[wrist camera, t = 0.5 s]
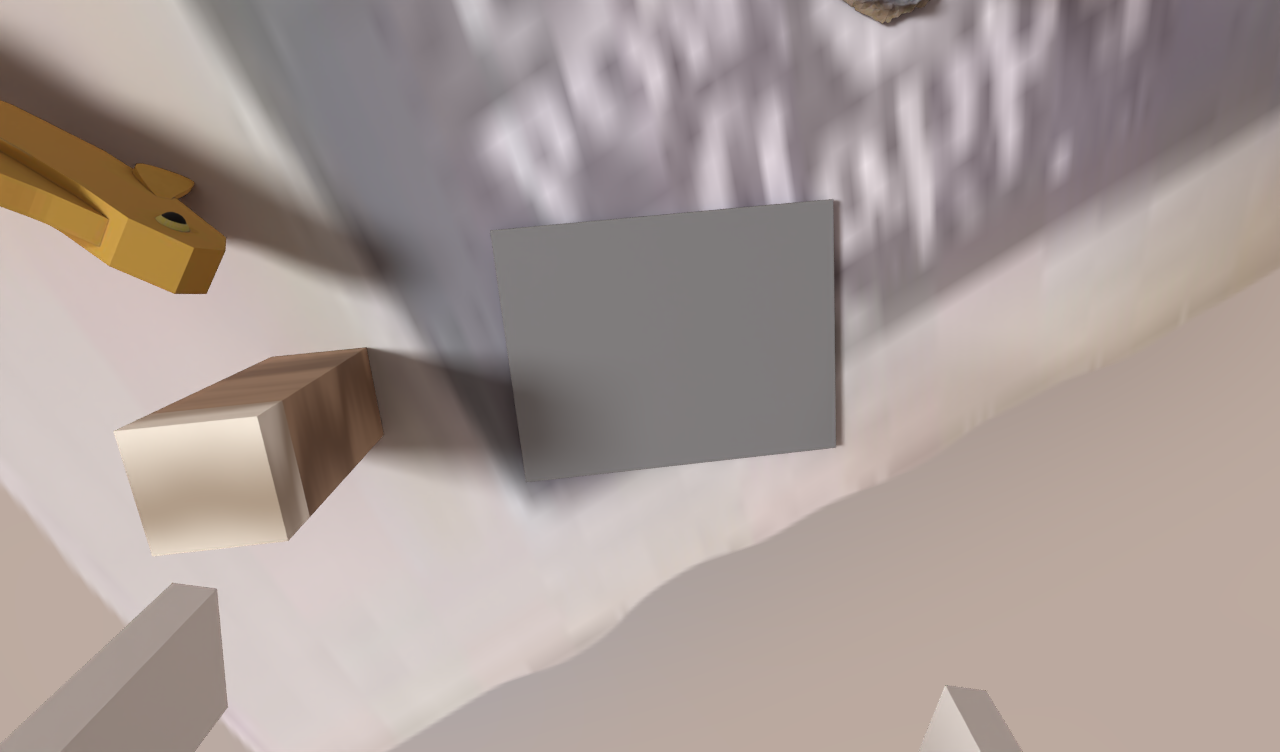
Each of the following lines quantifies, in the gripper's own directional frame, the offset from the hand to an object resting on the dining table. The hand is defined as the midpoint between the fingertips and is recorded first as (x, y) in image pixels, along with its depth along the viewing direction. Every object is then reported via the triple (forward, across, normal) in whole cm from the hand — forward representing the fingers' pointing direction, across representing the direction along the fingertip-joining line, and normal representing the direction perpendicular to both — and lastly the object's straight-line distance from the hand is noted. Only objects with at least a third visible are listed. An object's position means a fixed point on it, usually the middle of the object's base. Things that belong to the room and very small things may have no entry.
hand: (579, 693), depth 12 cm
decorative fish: (+24, -28, +5) cm, 38 cm away
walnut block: (+24, -16, -6) cm, 29 cm away
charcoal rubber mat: (+26, +3, -1) cm, 26 cm away
